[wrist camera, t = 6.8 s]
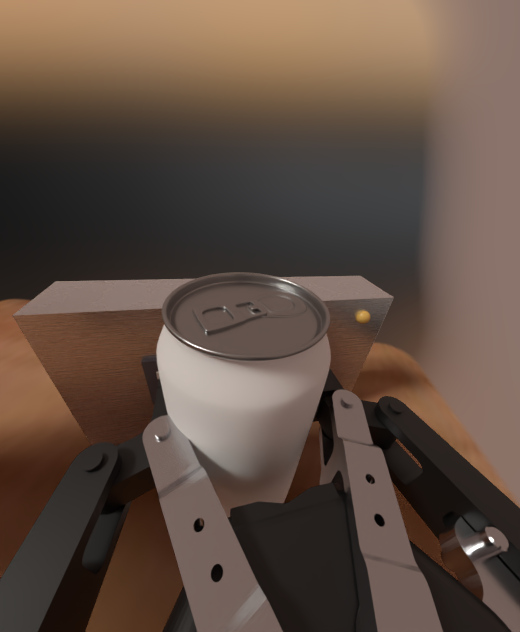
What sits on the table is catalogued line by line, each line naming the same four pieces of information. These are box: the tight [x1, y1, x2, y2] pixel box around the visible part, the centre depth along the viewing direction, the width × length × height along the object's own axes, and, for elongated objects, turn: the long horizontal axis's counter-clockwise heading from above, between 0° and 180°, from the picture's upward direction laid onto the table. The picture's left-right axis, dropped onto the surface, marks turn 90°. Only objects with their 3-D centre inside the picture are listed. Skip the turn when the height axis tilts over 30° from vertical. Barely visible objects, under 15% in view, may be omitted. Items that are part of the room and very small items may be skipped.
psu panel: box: [12, 276, 393, 446], centre depth 18 cm, size 22×4×12 cm, turn 104°
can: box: [156, 272, 331, 518], centre depth 11 cm, size 6×6×12 cm
